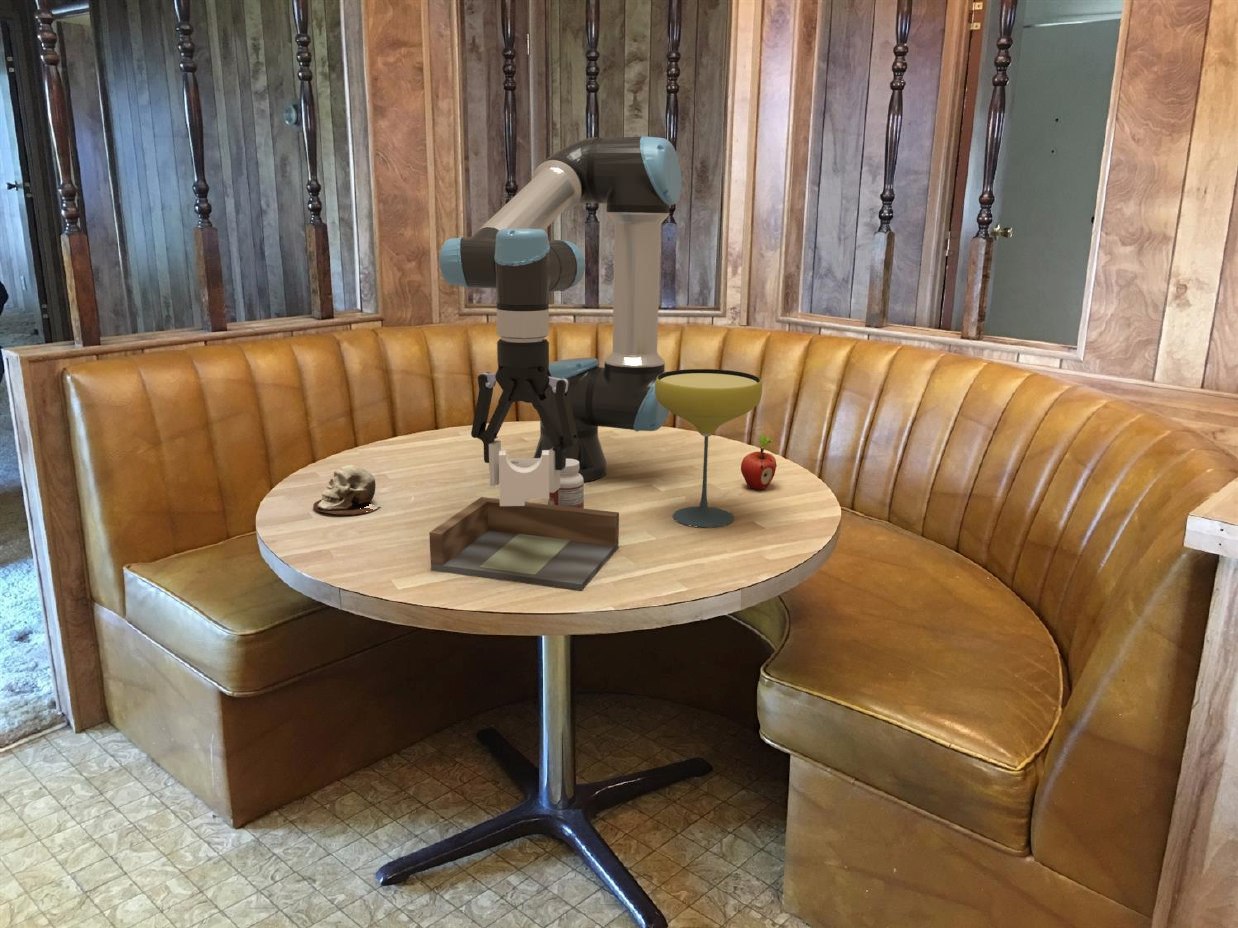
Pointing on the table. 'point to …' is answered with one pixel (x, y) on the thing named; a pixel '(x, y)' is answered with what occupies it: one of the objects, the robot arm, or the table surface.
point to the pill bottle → (569, 487)
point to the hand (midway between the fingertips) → (524, 486)
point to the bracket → (523, 479)
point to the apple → (759, 467)
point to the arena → (526, 543)
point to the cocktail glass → (707, 419)
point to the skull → (348, 492)
